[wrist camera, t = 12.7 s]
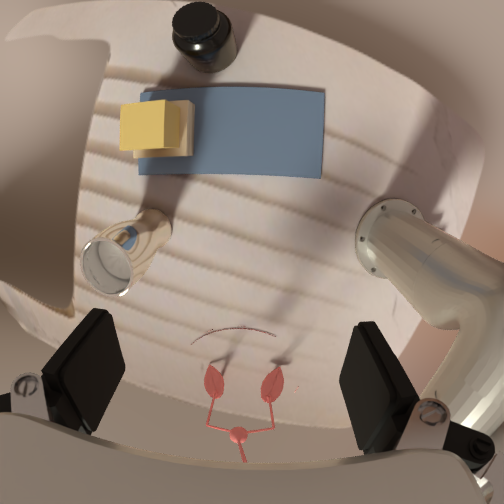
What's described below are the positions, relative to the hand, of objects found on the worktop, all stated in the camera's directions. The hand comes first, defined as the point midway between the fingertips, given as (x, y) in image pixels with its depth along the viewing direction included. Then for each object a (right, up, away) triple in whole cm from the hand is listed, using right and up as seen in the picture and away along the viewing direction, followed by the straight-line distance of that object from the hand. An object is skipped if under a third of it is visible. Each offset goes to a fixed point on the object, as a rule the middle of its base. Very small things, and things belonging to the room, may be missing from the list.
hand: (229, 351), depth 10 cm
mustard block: (-10, +19, +21) cm, 29 cm away
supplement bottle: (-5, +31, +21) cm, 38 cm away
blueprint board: (-2, +20, +25) cm, 32 cm away
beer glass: (-14, +7, +30) cm, 34 cm away
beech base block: (-10, +20, +24) cm, 33 cm away
